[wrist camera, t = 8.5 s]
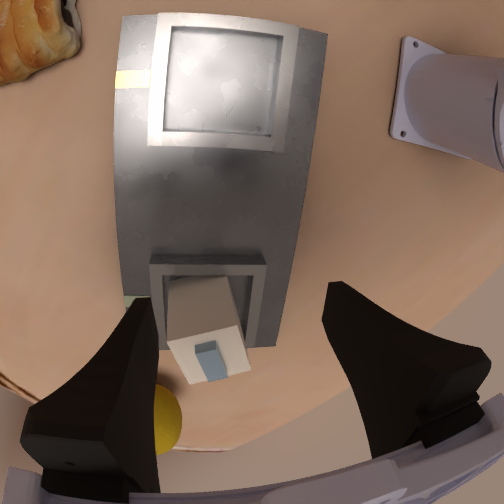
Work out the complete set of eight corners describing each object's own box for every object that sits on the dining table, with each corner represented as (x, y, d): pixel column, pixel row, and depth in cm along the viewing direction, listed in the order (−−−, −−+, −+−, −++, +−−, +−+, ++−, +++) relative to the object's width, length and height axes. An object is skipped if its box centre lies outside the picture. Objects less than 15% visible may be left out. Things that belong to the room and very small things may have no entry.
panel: (321, 35, 16) (335, 31, 15) (272, 338, 28) (278, 356, 26) (126, 19, 14) (118, 11, 12) (133, 340, 25) (131, 359, 23)
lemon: (131, 359, 26) (125, 435, 19) (188, 374, 28) (194, 448, 21) (119, 391, 28) (113, 460, 21) (170, 404, 30) (173, 471, 23)
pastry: (-20, 112, 14) (-51, 120, 11) (-33, 34, 11) (-63, 32, 8) (91, 52, 15) (70, 45, 11) (76, -31, 11) (56, -50, 8)
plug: (225, 266, 22) (239, 333, 16) (237, 310, 24) (253, 378, 18) (169, 281, 22) (166, 350, 16) (186, 322, 24) (190, 392, 18)
